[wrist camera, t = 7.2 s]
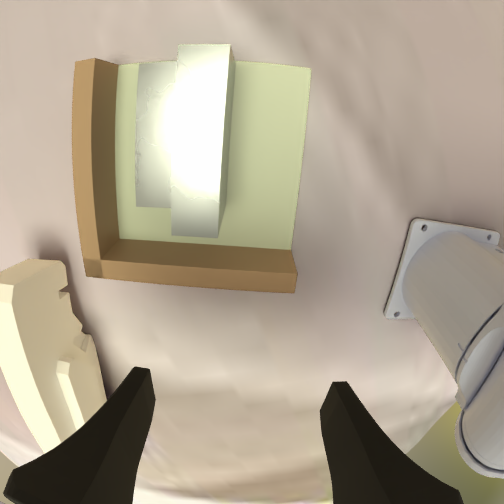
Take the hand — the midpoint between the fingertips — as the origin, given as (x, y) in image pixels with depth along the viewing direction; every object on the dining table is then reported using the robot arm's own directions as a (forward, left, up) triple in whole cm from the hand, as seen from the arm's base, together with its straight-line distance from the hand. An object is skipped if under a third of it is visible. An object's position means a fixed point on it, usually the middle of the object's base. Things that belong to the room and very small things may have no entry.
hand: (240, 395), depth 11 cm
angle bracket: (+4, -9, -9) cm, 13 cm away
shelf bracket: (+14, +12, -10) cm, 21 cm away
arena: (+3, -7, -10) cm, 13 cm away
